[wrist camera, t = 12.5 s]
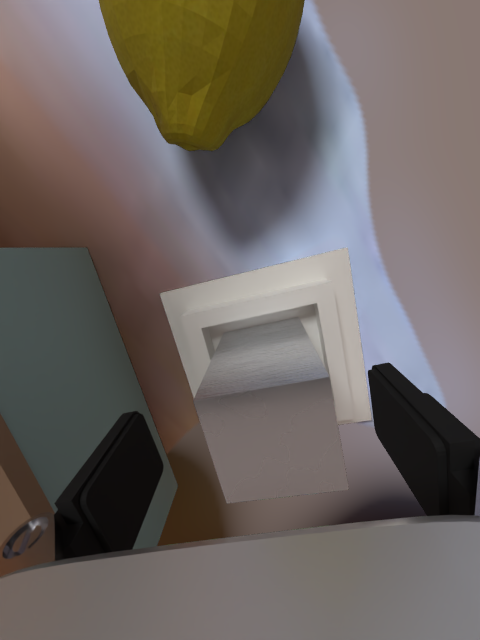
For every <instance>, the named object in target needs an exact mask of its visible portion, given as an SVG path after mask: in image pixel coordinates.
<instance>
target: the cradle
mask: <svg viewBox="0 0 480 640" xmlns="http://www.w3.org/2000/svg"><path fill="white" fill-rule="evenodd" d="M160 297H161V300H162V303H163V306H164V309H165V312H166V315H167V318H168V321H169V324H170V327H171V330H172V333H173V336H174V339H175V342H176V345H177V348H178V351H179V355H180V358H181V361H182V364H183V367H184V370H185V373H186V376H187V379H188V382H189V385H190V388H191V391H192V394H193V397H195V395H196V393H197V391H198V388H199V386H200V384H201V382H202V380H203V377H204V375H205V373H206V371H207V368H208V366H209V364H210V362H211V360H212V357H213V355H214V353H215V351H216V348H217V346H218V344H219V342H220V340H221V337H222V335H223V333H224V332H229V331H234V330H238V329H243V328H248V327H253V326H257V325H262V324H267V323H272V322H276V321H281V320H286V319H291V318H295V317H299V319H300V321H301V323H302V325H303V327H304V329H305V330H306V332H307V334H308V336H309V338H310V340H311V342H312V344H313V346H314V348H315V350H316V352H317V354H318V355H319V357H320V359H321V361H322V363H323V365H324V367H325V369H326V371H327V373H328V375H329V377H330V382H331V388H332V394H333V400H334V405H335V411H336V417H337V423H338V425H342V424H349V423H356V422H362V421H369V420H372V419H371V412H370V404H369V397H368V390H367V383H366V376H365V369H364V361H363V354H362V347H361V340H360V333H359V325H358V318H357V311H356V304H355V297H354V289H353V282H352V275H351V268H350V261H349V254H348V248H342V249H338V250H334V251H329V252H325V253H321V254H317V255H313V256H309V257H305V258H301V259H297V260H293V261H289V262H285V263H281V264H276V265H272V266H268V267H264V268H260V269H256V270H252V271H248V272H244V273H240V274H236V275H232V276H228V277H223V278H219V279H215V280H211V281H207V282H203V283H199V284H195V285H191V286H187V287H183V288H179V289H175V290H170V291H166V292H162V293H160Z"/></svg>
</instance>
